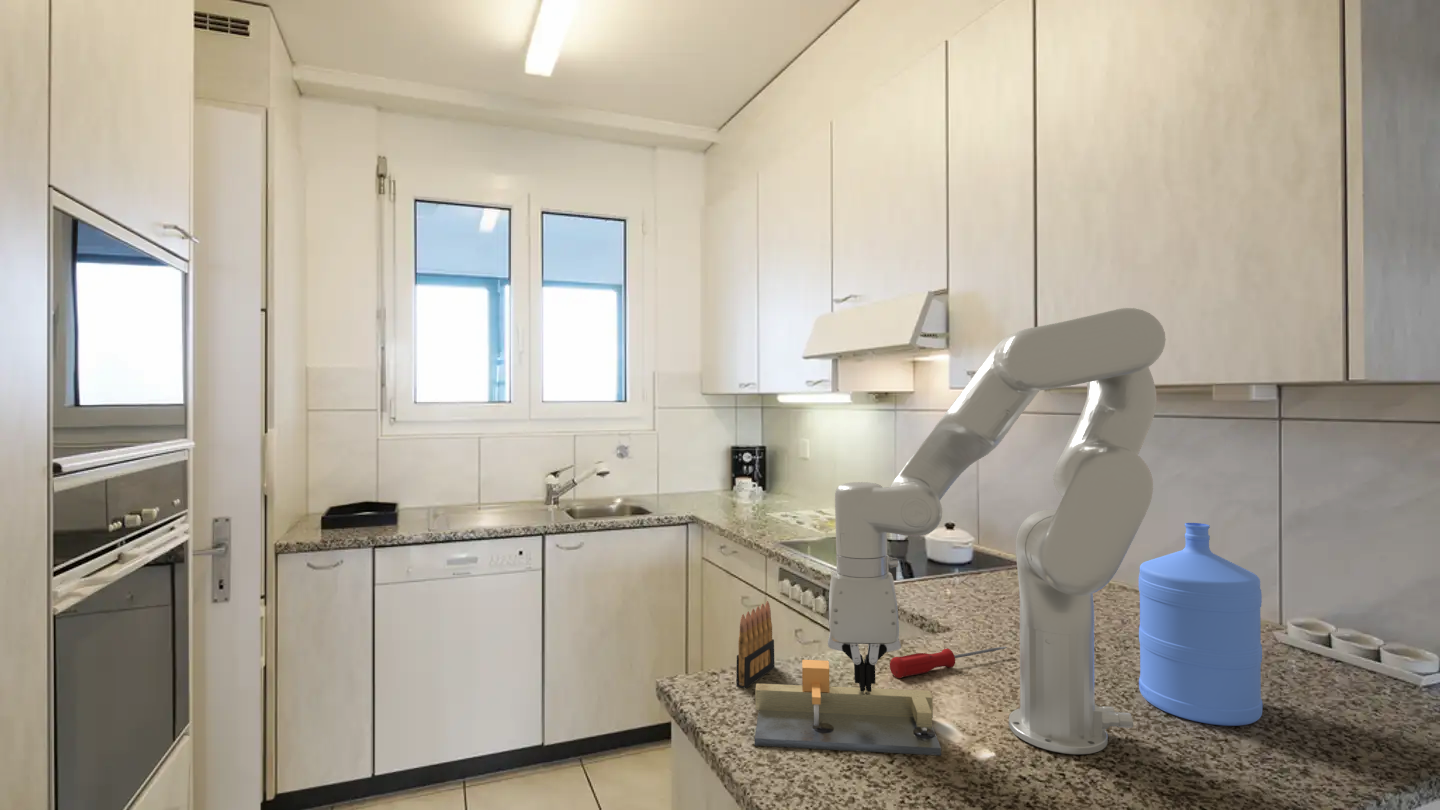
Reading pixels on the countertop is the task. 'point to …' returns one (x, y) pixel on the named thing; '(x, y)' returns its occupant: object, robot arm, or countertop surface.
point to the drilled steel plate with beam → (846, 719)
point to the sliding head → (815, 682)
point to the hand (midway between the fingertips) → (865, 687)
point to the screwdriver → (927, 662)
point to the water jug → (1200, 635)
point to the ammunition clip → (755, 646)
